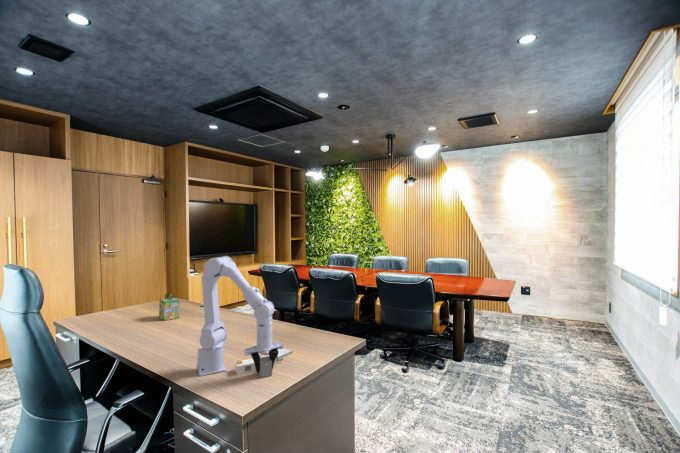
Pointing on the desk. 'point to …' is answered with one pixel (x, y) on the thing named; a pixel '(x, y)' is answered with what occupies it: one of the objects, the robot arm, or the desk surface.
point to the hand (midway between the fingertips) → (264, 370)
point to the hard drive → (280, 353)
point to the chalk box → (169, 308)
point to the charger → (265, 367)
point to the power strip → (248, 365)
